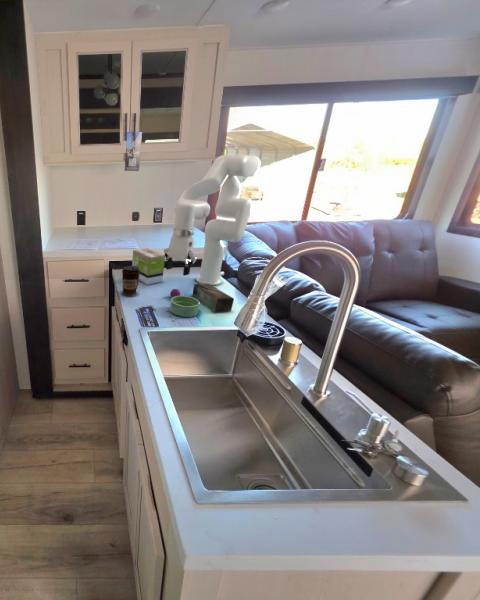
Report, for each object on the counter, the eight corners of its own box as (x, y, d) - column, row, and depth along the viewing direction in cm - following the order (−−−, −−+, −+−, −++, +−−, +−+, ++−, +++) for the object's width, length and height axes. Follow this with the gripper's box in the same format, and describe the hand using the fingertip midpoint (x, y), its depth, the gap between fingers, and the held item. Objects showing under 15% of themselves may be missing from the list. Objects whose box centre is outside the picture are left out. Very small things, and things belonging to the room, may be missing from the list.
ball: (174, 295, 146) (175, 286, 145) (181, 298, 143) (183, 289, 141) (167, 297, 144) (168, 288, 142) (175, 300, 141) (176, 291, 139)
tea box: (130, 276, 171) (132, 249, 165) (145, 273, 175) (148, 247, 169) (147, 285, 159) (149, 256, 153) (163, 282, 163) (166, 254, 157)
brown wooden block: (207, 294, 147) (209, 281, 145) (232, 312, 130) (235, 297, 128) (191, 295, 146) (193, 282, 143) (215, 313, 129) (217, 299, 126)
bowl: (182, 304, 138) (183, 293, 135) (203, 313, 129) (205, 302, 127) (163, 310, 132) (165, 299, 130) (185, 320, 123) (186, 309, 121)
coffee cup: (138, 298, 144) (140, 271, 138) (120, 296, 145) (121, 270, 140) (138, 291, 152) (141, 265, 146) (121, 289, 153) (123, 264, 148)
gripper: (205, 235, 127) (199, 275, 133) (173, 228, 140) (168, 265, 147) (193, 237, 123) (187, 278, 130) (161, 230, 136) (156, 268, 143)
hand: (177, 271), depth 138 cm, fingers open, 9 cm apart
